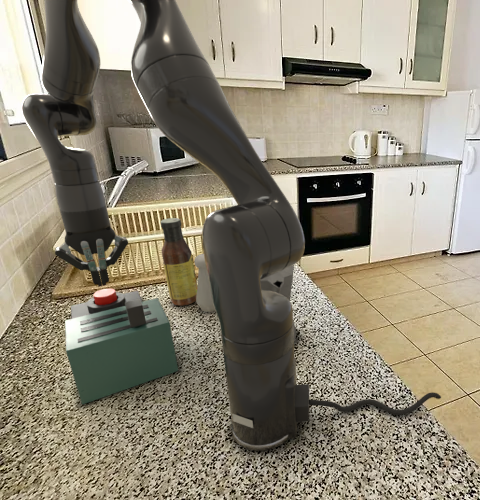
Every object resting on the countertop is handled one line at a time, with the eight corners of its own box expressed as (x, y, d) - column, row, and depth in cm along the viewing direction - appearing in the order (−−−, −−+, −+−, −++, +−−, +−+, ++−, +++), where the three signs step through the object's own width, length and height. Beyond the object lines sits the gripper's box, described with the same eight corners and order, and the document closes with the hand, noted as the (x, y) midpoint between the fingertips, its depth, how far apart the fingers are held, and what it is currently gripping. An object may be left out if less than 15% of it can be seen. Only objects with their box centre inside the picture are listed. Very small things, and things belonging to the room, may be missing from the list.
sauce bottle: (204, 298, 90) (194, 219, 82) (181, 309, 85) (168, 226, 77) (187, 291, 93) (175, 214, 86) (164, 301, 88) (149, 221, 81)
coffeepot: (307, 350, 72) (305, 264, 65) (258, 363, 68) (250, 273, 61) (284, 312, 85) (280, 237, 78) (241, 321, 81) (234, 243, 74)
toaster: (166, 342, 73) (157, 297, 69) (178, 370, 65) (169, 321, 62) (79, 369, 65) (64, 319, 62) (82, 404, 58) (65, 350, 54)
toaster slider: (143, 316, 62) (139, 298, 61) (146, 323, 60) (142, 305, 59) (128, 320, 61) (124, 302, 60) (131, 328, 59) (126, 308, 58)
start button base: (139, 298, 89) (136, 283, 88) (146, 317, 81) (143, 300, 80) (73, 314, 82) (68, 298, 80) (74, 336, 74) (69, 318, 73)
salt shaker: (215, 315, 82) (208, 261, 78) (192, 312, 84) (184, 259, 79) (228, 303, 88) (223, 252, 83) (206, 300, 89) (200, 249, 84)
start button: (116, 295, 83) (114, 286, 82) (118, 302, 80) (116, 294, 79) (94, 299, 81) (92, 291, 80) (96, 307, 78) (93, 299, 77)
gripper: (39, 214, 66) (63, 300, 72) (124, 204, 73) (140, 283, 80) (40, 205, 72) (63, 285, 78) (119, 197, 79) (134, 271, 85)
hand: (102, 284), depth 79 cm, fingers closed
